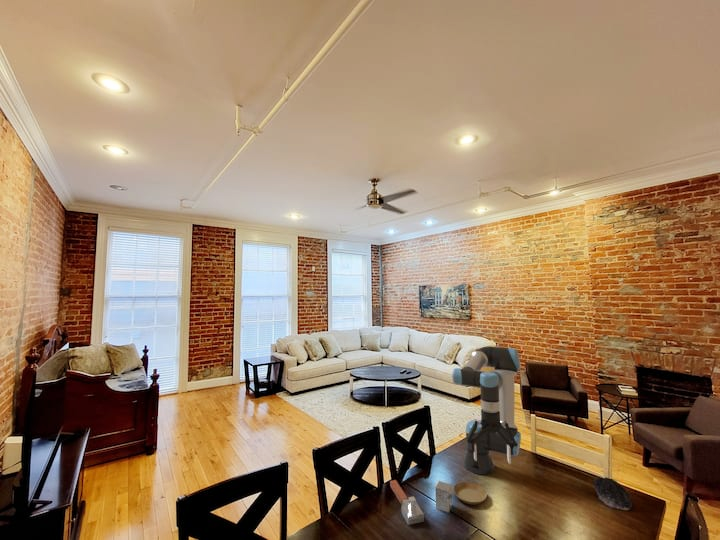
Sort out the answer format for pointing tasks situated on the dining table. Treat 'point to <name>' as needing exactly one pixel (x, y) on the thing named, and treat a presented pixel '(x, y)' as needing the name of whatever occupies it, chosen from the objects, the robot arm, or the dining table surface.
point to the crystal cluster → (612, 493)
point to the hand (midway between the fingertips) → (492, 460)
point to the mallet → (407, 505)
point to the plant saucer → (469, 492)
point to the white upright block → (443, 496)
